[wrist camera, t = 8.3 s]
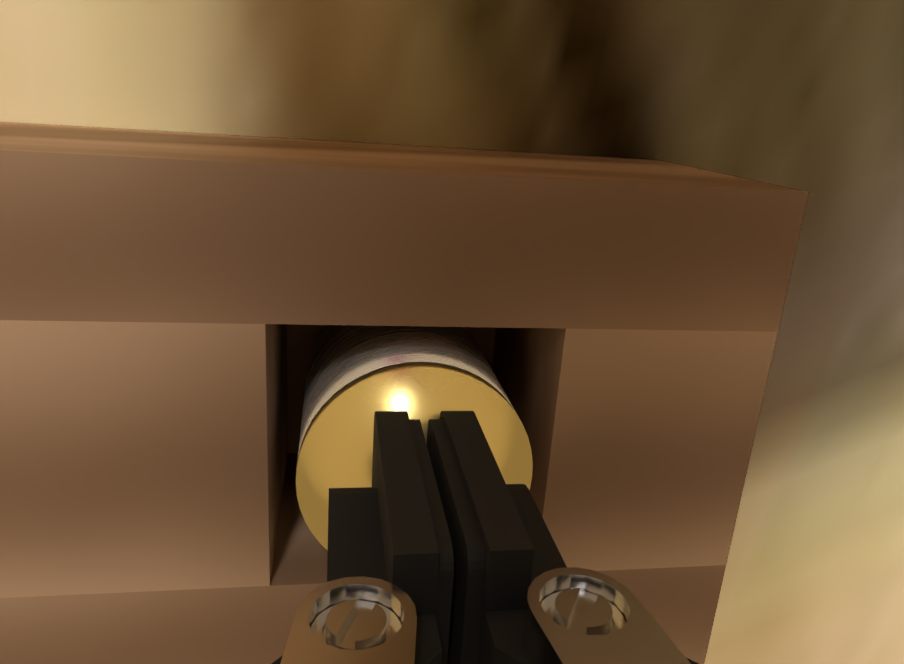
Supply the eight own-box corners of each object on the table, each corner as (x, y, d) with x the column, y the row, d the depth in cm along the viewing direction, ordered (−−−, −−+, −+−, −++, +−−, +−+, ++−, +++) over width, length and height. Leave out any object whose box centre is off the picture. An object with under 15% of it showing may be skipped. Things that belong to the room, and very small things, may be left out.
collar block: (-641, 84, 13) (-1362, 79, 8) (657, 160, 18) (809, 192, 12) (-460, 540, 16) (-876, 774, 11) (604, 508, 21) (704, 663, 15)
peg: (306, 290, 15) (295, 367, 11) (489, 294, 16) (544, 369, 12) (306, 457, 16) (296, 584, 12) (475, 454, 17) (520, 574, 13)
